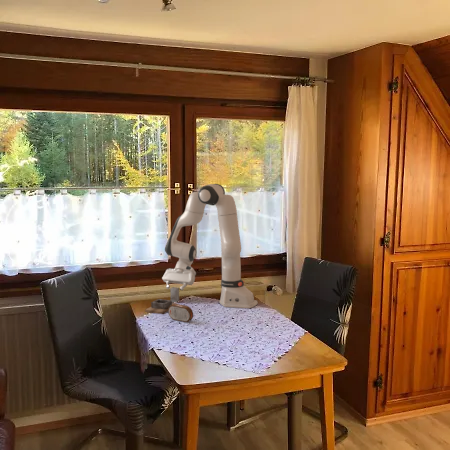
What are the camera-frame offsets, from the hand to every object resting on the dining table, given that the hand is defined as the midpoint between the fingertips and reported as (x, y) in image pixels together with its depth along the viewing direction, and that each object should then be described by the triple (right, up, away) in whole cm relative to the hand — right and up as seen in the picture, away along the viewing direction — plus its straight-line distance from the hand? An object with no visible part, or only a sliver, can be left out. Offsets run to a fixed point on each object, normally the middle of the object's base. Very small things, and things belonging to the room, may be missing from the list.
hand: (174, 289), depth 291 cm
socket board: (-6, -10, -12) cm, 17 cm away
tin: (+7, -12, -33) cm, 36 cm away
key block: (0, -8, +1) cm, 8 cm away
